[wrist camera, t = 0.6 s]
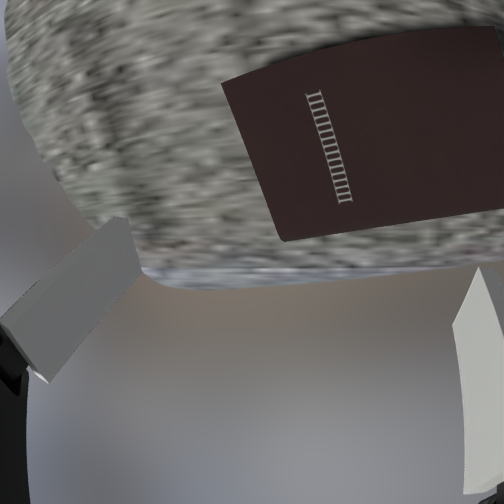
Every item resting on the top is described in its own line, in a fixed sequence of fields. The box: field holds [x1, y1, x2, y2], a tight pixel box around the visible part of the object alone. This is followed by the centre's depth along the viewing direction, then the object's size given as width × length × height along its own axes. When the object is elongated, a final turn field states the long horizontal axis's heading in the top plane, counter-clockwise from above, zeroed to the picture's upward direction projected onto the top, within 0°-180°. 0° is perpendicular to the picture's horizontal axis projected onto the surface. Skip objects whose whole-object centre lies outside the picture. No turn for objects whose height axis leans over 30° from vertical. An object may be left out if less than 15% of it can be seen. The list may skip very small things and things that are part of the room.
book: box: [221, 26, 504, 242], centre depth 28 cm, size 28×20×6 cm
